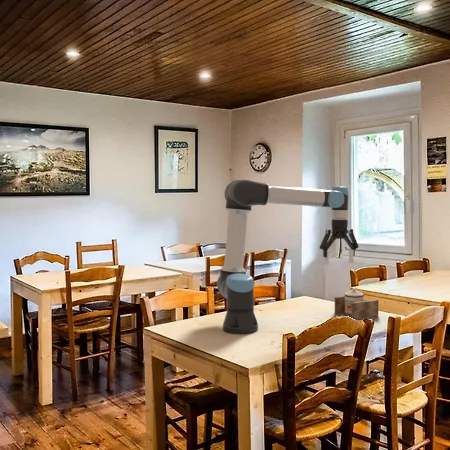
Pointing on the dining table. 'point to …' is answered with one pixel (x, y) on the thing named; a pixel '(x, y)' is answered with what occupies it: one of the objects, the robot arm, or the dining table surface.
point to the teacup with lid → (352, 299)
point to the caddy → (357, 308)
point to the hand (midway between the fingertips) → (338, 263)
